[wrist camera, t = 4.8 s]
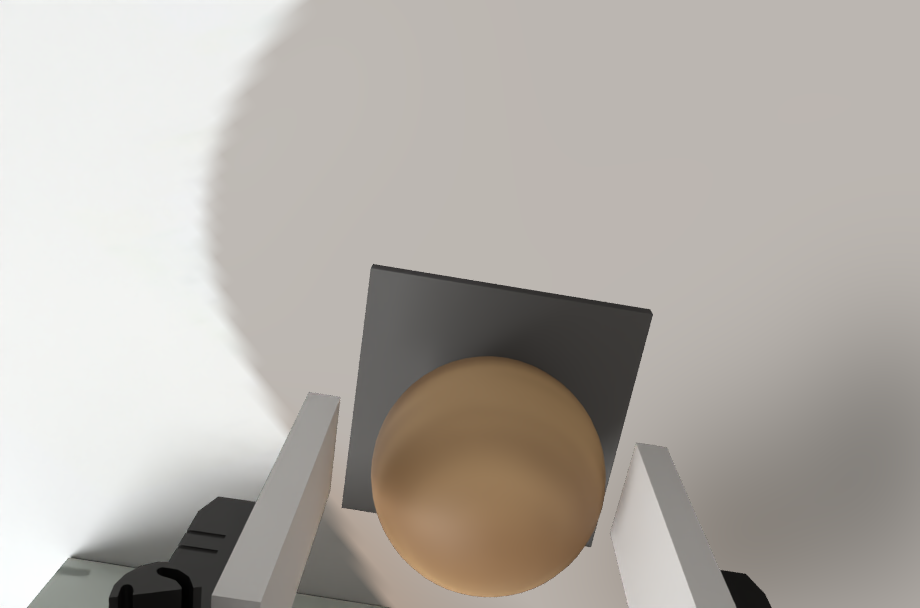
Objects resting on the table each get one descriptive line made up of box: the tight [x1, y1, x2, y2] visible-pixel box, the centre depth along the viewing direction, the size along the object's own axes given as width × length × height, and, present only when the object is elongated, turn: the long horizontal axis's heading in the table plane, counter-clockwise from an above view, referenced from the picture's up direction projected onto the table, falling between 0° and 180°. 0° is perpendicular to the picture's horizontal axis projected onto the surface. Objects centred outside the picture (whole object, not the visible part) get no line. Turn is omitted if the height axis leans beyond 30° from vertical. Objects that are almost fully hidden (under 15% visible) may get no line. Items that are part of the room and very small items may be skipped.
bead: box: [371, 356, 606, 597], centre depth 19 cm, size 6×6×6 cm
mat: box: [342, 264, 653, 547], centre depth 22 cm, size 8×8×1 cm
